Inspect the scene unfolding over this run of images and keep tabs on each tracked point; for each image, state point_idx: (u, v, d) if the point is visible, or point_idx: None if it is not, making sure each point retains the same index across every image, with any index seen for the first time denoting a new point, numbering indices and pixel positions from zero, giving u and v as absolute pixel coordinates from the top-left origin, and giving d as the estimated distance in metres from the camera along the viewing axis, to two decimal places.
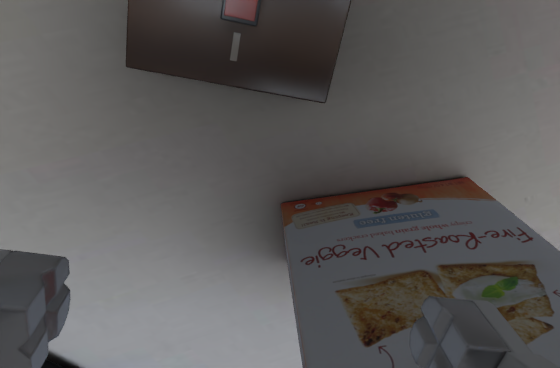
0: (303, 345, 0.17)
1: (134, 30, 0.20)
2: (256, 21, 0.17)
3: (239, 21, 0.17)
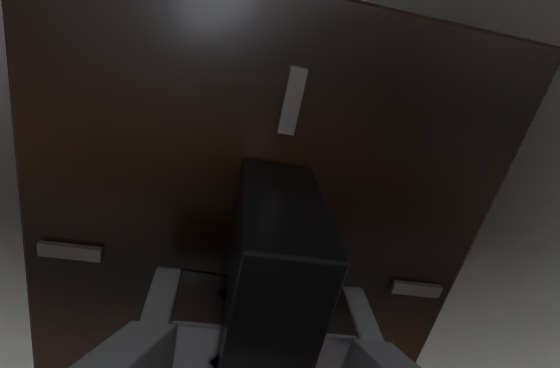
0: None
1: None
2: None
3: None
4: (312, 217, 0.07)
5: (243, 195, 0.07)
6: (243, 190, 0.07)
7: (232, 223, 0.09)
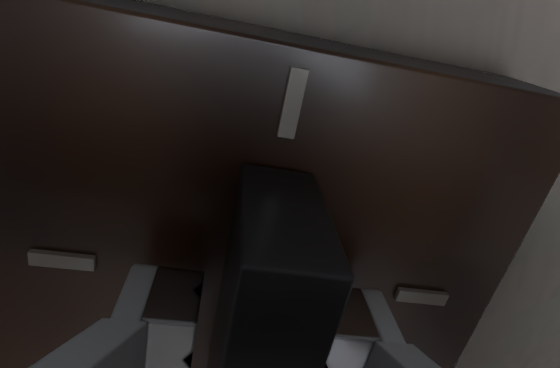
0: None
1: (42, 16, 0.07)
2: None
3: None
4: (314, 226, 0.06)
5: (242, 203, 0.07)
6: (242, 197, 0.07)
7: (231, 230, 0.08)
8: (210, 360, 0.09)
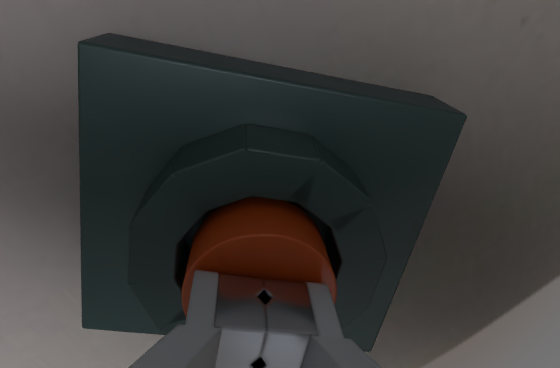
0: None
1: None
2: None
3: None
4: None
5: None
6: None
7: None
8: None
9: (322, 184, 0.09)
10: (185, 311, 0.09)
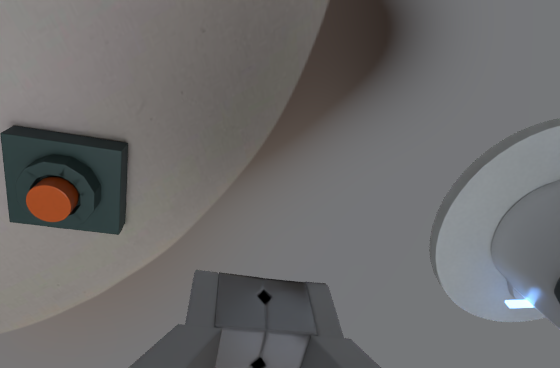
0: None
1: None
2: None
3: None
4: None
5: None
6: None
7: None
8: None
9: (66, 171, 0.34)
10: None
